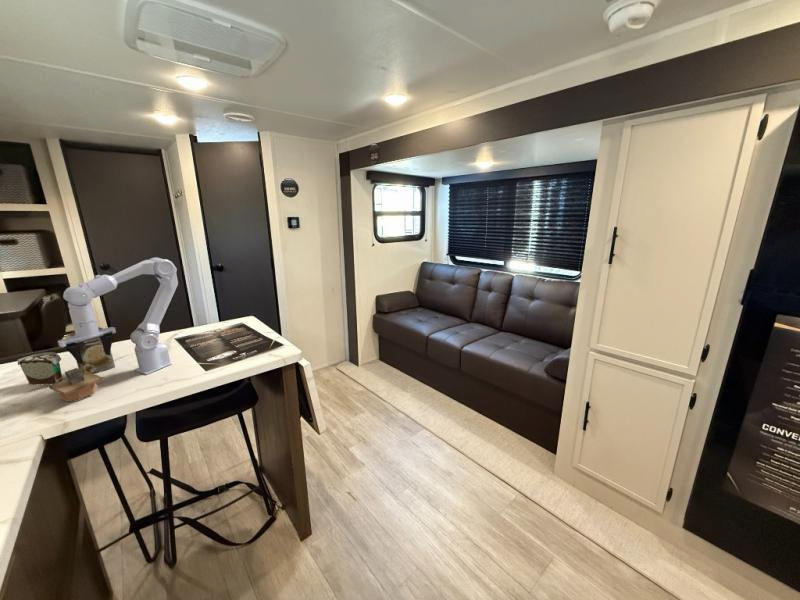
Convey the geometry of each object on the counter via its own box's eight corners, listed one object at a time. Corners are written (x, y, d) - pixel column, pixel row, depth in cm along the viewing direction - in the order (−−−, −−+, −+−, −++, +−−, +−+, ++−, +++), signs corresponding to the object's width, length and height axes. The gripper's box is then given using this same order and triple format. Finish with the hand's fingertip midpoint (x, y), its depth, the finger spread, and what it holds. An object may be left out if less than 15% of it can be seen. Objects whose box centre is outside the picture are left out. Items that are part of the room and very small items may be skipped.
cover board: (88, 373, 112) (84, 361, 110) (103, 379, 108) (100, 367, 107) (49, 388, 103) (44, 374, 101) (65, 394, 99) (60, 381, 98)
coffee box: (85, 377, 118) (73, 337, 114) (79, 372, 121) (67, 334, 117) (116, 367, 126) (105, 329, 121) (109, 363, 129) (99, 326, 124)
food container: (77, 375, 119) (69, 351, 116) (61, 384, 113) (52, 359, 110) (43, 376, 119) (34, 352, 116) (25, 385, 113) (15, 359, 110)
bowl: (89, 386, 112) (85, 375, 111) (102, 391, 109) (98, 380, 108) (58, 398, 105) (54, 387, 103) (71, 404, 102) (66, 392, 100)
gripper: (104, 314, 114) (112, 348, 118) (49, 326, 101) (60, 364, 105) (115, 316, 112) (123, 352, 115) (60, 329, 99) (71, 369, 102)
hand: (94, 358), depth 110 cm, fingers open, 7 cm apart
